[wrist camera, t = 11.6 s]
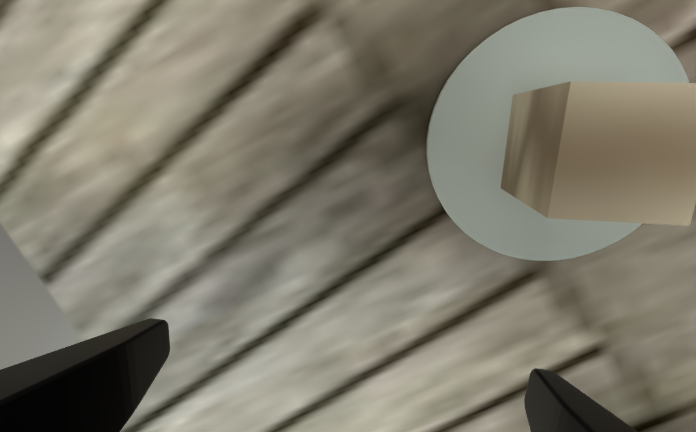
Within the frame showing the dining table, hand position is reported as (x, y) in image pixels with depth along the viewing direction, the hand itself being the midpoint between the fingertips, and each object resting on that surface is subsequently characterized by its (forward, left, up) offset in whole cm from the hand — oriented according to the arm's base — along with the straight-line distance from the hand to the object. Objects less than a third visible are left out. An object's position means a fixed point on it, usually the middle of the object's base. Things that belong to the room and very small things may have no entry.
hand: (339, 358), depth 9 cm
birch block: (+5, -9, -11) cm, 15 cm away
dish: (+5, -9, -13) cm, 16 cm away
